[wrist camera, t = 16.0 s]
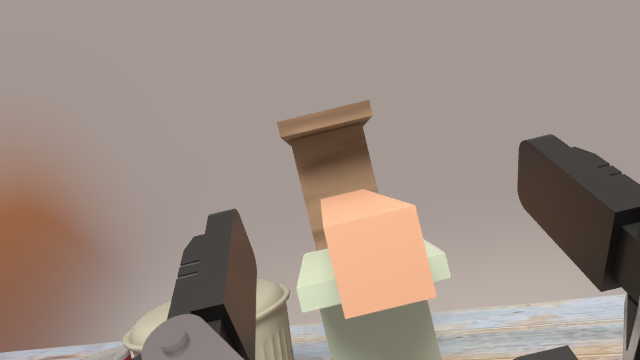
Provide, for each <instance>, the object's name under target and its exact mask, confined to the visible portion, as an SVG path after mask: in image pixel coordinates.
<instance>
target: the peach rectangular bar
mask: <svg viewBox="0 0 640 360" xmlns="http://www.w3.org/2000/svg"><path fill="white" fill-rule="evenodd" d="M320 200H321V210H322V220H323V229H324V233H325V237H326V241H327V245H328V249H329V254H330V258H331V262H332V266H333V270H334V275H335V279H336V283H337V287H338V291H339V295H340V300H341V304H342V308H343V312H344V316H345V319H348V318H352V317H356V316H360V315H364V314H369V313H373V312H377V311H381V310H385V309H390V308H394V307H398V306H402V305H406V304H410V303H415V302H419V301H423V300H427V299H431V298H435V297H437V296H436V291H435V287H434V283H433V279H432V274H431V270H430V266H429V262H428V257H427V253H426V249H425V245H424V240H423V237H422V232H421V228H420V224H419V220H418V215H417V211H416V207H415V205H412V204H409V203H405V202H403V201H399V200H396V199H393V198H390V197H387V196H384V195H380V194H377V193H374V192H371V191H368V190H365V189H362V190H357V191H353V192H349V193H345V194H341V195H337V196H332V197H328V198H324V199H320Z"/></svg>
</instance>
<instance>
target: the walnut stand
mask: <svg viewBox="0 0 640 360" xmlns="http://www.w3.org/2000/svg"><path fill="white" fill-rule="evenodd" d="M371 116H372V111H371V107H370V102H369V100H367V101H363V102H359V103H355V104H350V105H347V106H342V107H338V108H334V109H330V110H325V111H322V112H317V113H313V114H309V115H305V116H300V117H296V118H292V119H288V120H284V121H280V122H277V124H278V128H279V132H280V136H281V138H282V139H283V140H284V141H286V142H287V143H288V144H289V145H290V146H292V149H293V153H294V158H295V162H296V166H297V170H298V174H299V179H300V183H301V187H302V191H303V195H304V199H305V203H306V208H307V212H308V216H309V220H310V225H311V228H312V233H313V237H314V241H315V245H316V250H317V251H319V250H323V249H327V248H328V245H327V241H326V237H325V233H324V229H323V220H322V210H321V200H320V199H324V198H328V197H332V196H337V195H341V194H345V193H349V192H353V191H357V190H362V189H365V190H368V191H371V192H374V193H377V194H378V190H377V186H376V181H375V177H374V173H373V169H372V165H371V160H370V156H369V152H368V148H367V144H366V139H365V135H364V131H363V126H364V125H365V124H366V122H367V121H368V120H369V119H370V118H371Z"/></svg>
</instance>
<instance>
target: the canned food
mask: <svg viewBox="0 0 640 360" xmlns="http://www.w3.org/2000/svg"><path fill="white" fill-rule="evenodd" d="M131 359H132V358H131V354H130V351H129V350H128V349H126V348H125V347H124V346H120V347H114V348H110V349H106V350H103V351H100V352H97V353H95V354H92V355H90V356H88V357H85V358H83V359H81V360H131Z"/></svg>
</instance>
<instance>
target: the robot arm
mask: <svg viewBox="0 0 640 360" xmlns="http://www.w3.org/2000/svg"><path fill="white" fill-rule="evenodd" d="M518 195H519V199H520V201H521V204H522V206H523V207H524V209H525V210H526V211H527V212H528V213H529V214H530V215H531V216H532V218H533V219H534V220H535V221H536V222H537V223H538V224H539V225H540V226H541V227H542V229H543V230H544V231H545V232H546V233H547V234H548V235H549V236H550V237H551V238H552V239H553V240H554V241H555V243H556V244H557V245H558V246H559V247H560V248H561V249H562V250H563V251H564V252H565V253H566V254H567V256H568V257H569V258H570V259H571V260H572V261H573V262H574V263H575V264H576V265H577V266H578V268H580V270H581V271H582V272H583V273H584V274H585V275H586V276H587V277H588V278H589V279H590V281H591V282H592V283H593V284H594V285H595V286H596V287H597V288H598V289H599V290H600V291H601V292H603V291H607V290H611V289H615V288H619V287H622V288H623V289H624V290H625V291H626V292H627V294H626V298H625V304H624V332H623V359H622V360H640V184H638V183H637V182H635V181H634V180H632V179H631V178H630V177H628V176H626V175H625V174H622V173H621V171H619V170H618V169H616V168H615V167H614V166H610V165H609V163H608V162H606V161H605V160H603V159H602V158H600V157H599V156H598V155H596V154H594V153H591V152H588V151H585V150H582V149H580V148H576V147H572V148H571V147H569V146H568V145H567V144H565V143H564V142H562V141H561V140H559V139H558V138H557V137H555V136H554V135H551V134H550V135H545V136H541V137H537V138H533V139H528V140H524V141H522V142H521V143H520V146H519V160H518ZM180 265H181V267H180V268H179V272H178V279H177V280H176V284H175V288H174V292H173V296H172V300H171V304H170V308H169V313H168V317H167V320H166V321H165V322H163V323H162V324H160V325H159V326H158V327H156V328H155V329H154V330H153V331H152V332H151V333H150V335H149V336H148V337H147V339H146V341H145V342H144V345H143V347H142V352H141V354H139V355H138V356H136V357H134V358H133V359H131V360H255V341H256V290H257V269H256V261H255V257H254V253H253V250H252V247H251V244H250V242H249V239H248V236H247V234H246V231H245V229H244V226H243V224H242V220H241V218H240V215H239V213H238V211H237V210H236V209H232V210H227V211H223V212H219V213H215V214H210V215H209V216H208V220H207V226H206V231H205V234H203V235H199V236H195V237H194V238H193V239H192V240H191V242H190V243H189V244H188V246H187V247H186V248H185V250H184V252H183V256H182V260H181V264H180ZM513 360H578V359H577V357H576V356H575V355H574V353H573V352H572V351H571V349H570V348H569V346H563V347H559V348H555V349H550V350H546V351H542V352H538V353H533V354H529V355H525V356H520V357H517V358H515V359H513Z"/></svg>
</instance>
